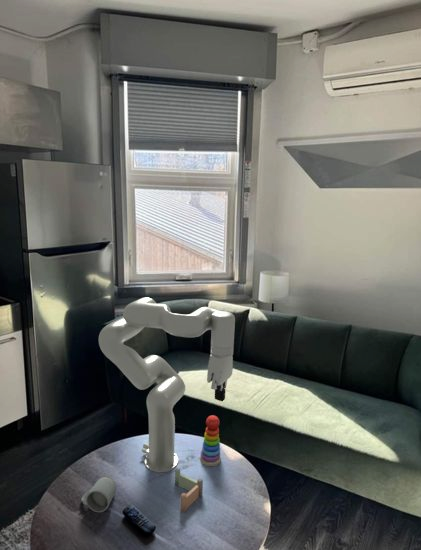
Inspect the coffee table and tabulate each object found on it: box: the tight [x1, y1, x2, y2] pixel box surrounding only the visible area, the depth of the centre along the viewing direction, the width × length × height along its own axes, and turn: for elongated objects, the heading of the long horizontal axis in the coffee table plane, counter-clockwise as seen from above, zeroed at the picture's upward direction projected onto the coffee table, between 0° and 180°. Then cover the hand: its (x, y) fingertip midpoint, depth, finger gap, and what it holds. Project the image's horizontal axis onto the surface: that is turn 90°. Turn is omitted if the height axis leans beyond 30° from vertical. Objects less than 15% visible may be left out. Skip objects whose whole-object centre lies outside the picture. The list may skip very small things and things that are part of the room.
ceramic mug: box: [80, 476, 117, 513], centre depth 131 cm, size 11×8×8 cm
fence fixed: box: [174, 467, 198, 492], centre depth 138 cm, size 9×2×6 cm, turn 60°
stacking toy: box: [199, 414, 222, 467], centre depth 151 cm, size 8×8×19 cm
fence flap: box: [180, 478, 204, 513], centre depth 132 cm, size 10×2×6 cm, turn 143°
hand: (219, 399), depth 136 cm, fingers closed
